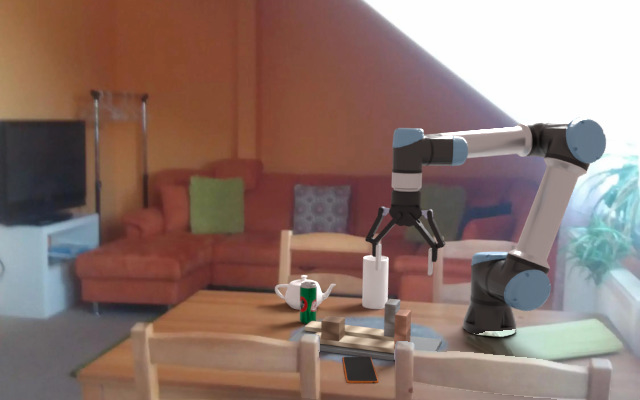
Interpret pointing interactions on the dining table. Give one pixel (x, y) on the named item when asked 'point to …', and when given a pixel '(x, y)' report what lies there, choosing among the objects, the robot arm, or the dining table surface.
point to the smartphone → (359, 370)
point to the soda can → (308, 302)
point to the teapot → (294, 292)
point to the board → (419, 343)
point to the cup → (375, 283)
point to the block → (333, 328)
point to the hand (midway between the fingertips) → (403, 271)
